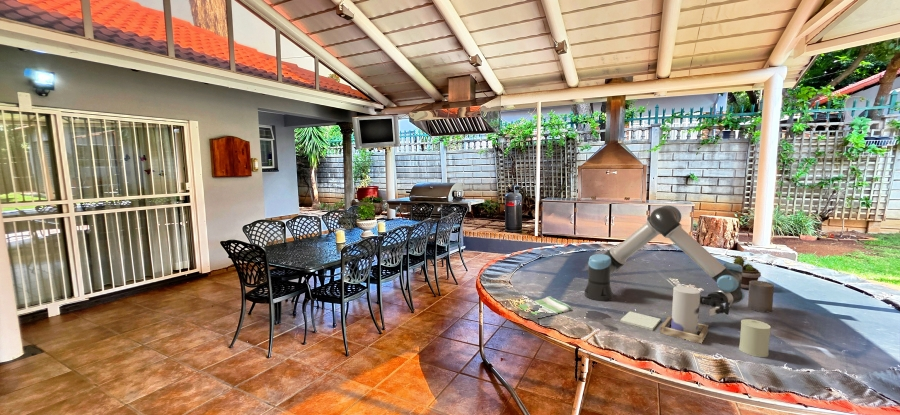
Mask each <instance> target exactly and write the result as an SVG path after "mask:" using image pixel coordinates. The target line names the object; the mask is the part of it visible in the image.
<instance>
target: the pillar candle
mask: <svg viewBox="0 0 900 415" xmlns="http://www.w3.org/2000/svg"><path fill="white" fill-rule="evenodd" d="M774 288H775V286H774V284H773V283H771V282H768V281H763V280H758V281H750V282H749V290H748V298H747V299H748V300H747V301H748V302H747V308H748V309H751V310H752V311H756V312H762V313H771V312H773V305H774Z"/></svg>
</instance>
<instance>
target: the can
mask: <svg viewBox="0 0 900 415" xmlns="http://www.w3.org/2000/svg"><path fill="white" fill-rule="evenodd" d="M771 328H772V327H771V325H769V323H766V322H763V321H760V320H756V319H752V318H751V319H748V318H747V319H741V321H740V334H739V335H740V336H739V346H738V349H739V351H740V352H743V353H744V354H747V355H749V356H753V357H756V358H767V357H769V349H770V348H769V347H770V338H771V337H770V335H771Z"/></svg>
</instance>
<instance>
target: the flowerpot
mask: <svg viewBox="0 0 900 415" xmlns="http://www.w3.org/2000/svg"><path fill="white" fill-rule="evenodd" d="M732 263H733V264H738V265H741V266H742V272H743V273H742V280H741V289H742V290H747V291H749V282H750V281H759V278H761V276H762V274H761V272H760V270H758V269H757V268H755V267H754V265H752V264H751V263H749V262H747V263H746V260H745V258H744V257H743V256H740V255H738V256H736V257H734V259H733V261H732Z"/></svg>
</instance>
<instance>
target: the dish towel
mask: <svg viewBox="0 0 900 415" xmlns="http://www.w3.org/2000/svg"><path fill="white" fill-rule="evenodd" d="M533 305H540V306H542V308H539V310H538V311H535V312H531V313H532V314H535V315H537V313H539V312H545V313H546V312H547V313H561V314H563V313H562V312H564V313H566V312H570V311H571V310H572V307H571V306H570V305H569V304H567V303H565V302H562V301H560V300H557V299H556V298H553V297H552V296H551V295H549V296H546V297H544V298H541V299H536V300H534V301H528V302H525V303H522V304H518V305H517V307H520V308H521V309H523V310H527V307H529V306H533Z"/></svg>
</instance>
